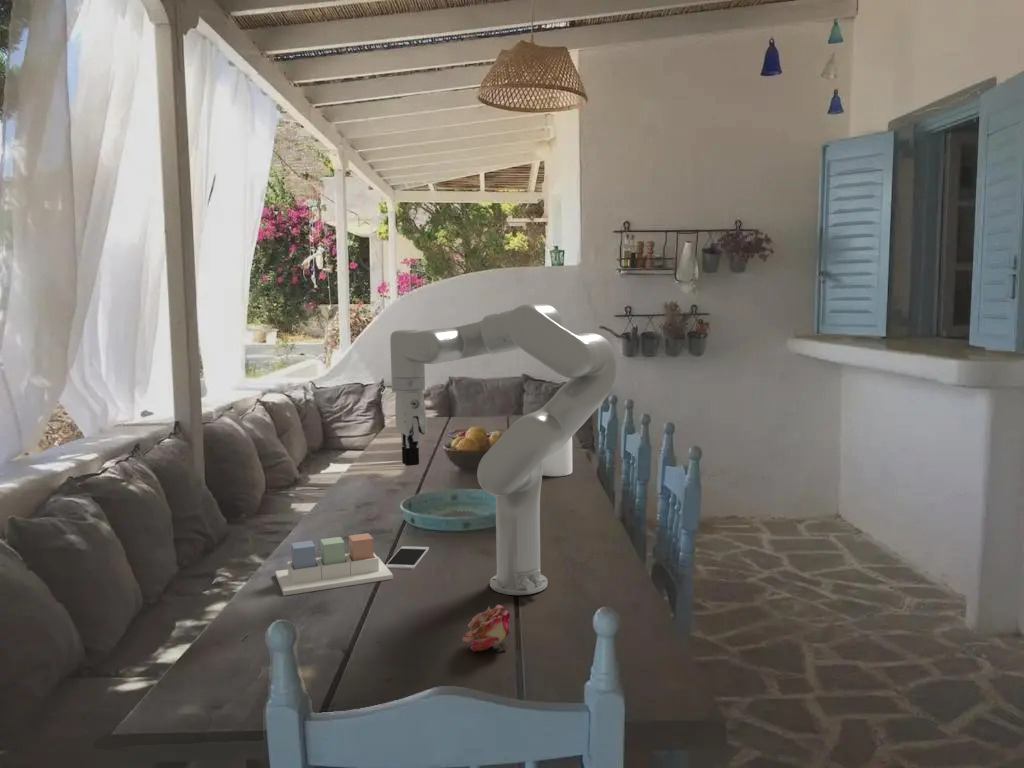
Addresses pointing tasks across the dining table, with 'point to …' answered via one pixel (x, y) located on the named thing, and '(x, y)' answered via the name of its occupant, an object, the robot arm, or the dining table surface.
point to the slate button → (303, 554)
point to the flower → (488, 629)
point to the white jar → (559, 462)
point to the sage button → (332, 550)
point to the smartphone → (407, 557)
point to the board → (332, 575)
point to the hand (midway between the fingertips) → (410, 463)
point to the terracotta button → (361, 547)
